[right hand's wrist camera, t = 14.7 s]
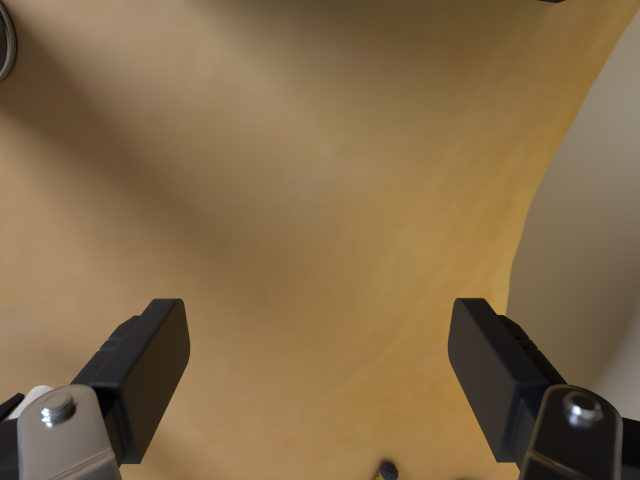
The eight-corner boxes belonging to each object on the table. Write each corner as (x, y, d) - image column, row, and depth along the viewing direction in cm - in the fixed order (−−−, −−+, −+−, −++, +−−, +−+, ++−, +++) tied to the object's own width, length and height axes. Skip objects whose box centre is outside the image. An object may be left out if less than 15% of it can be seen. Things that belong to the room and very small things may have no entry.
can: (38, 412, 44) (8, 446, 40) (24, 386, 43) (-8, 419, 38) (69, 409, 44) (43, 443, 40) (57, 383, 42) (28, 415, 38)
